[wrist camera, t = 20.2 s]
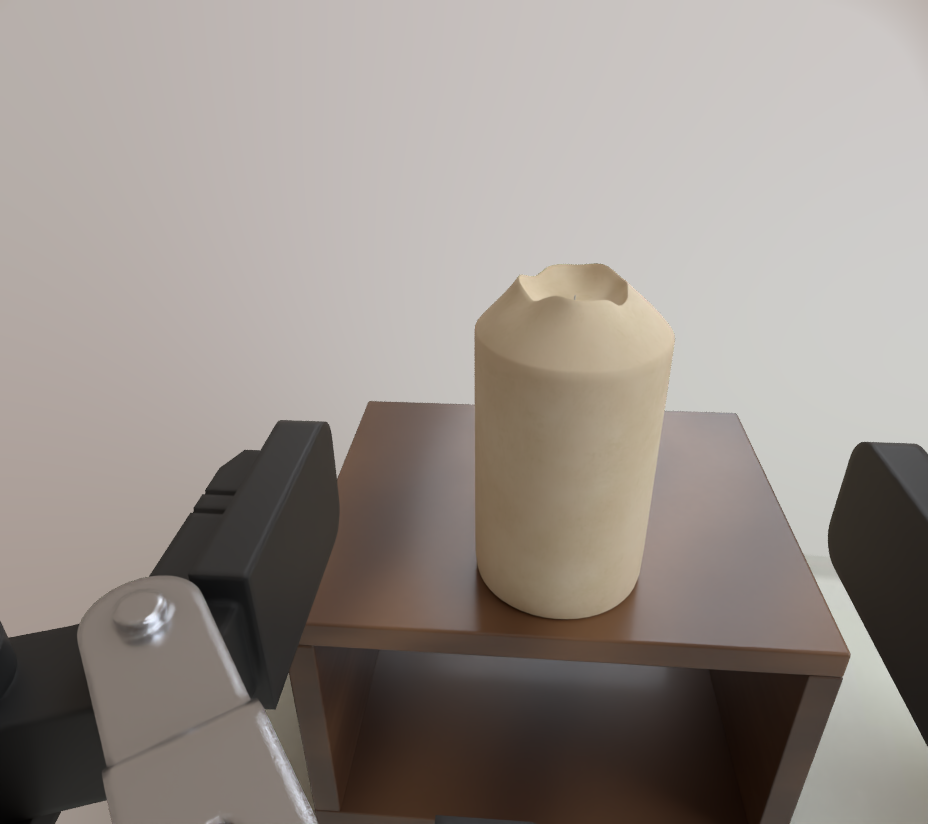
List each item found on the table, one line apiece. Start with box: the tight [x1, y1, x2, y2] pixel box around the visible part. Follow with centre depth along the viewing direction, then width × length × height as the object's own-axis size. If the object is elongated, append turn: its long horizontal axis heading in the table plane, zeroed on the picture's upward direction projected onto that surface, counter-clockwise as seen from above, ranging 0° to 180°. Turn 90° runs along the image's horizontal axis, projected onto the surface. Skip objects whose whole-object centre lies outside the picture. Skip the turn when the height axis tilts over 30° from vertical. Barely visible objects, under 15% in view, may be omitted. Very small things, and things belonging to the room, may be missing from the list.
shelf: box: [289, 401, 850, 824], centre depth 30 cm, size 17×14×11 cm
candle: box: [475, 263, 675, 619], centre depth 22 cm, size 6×6×10 cm
